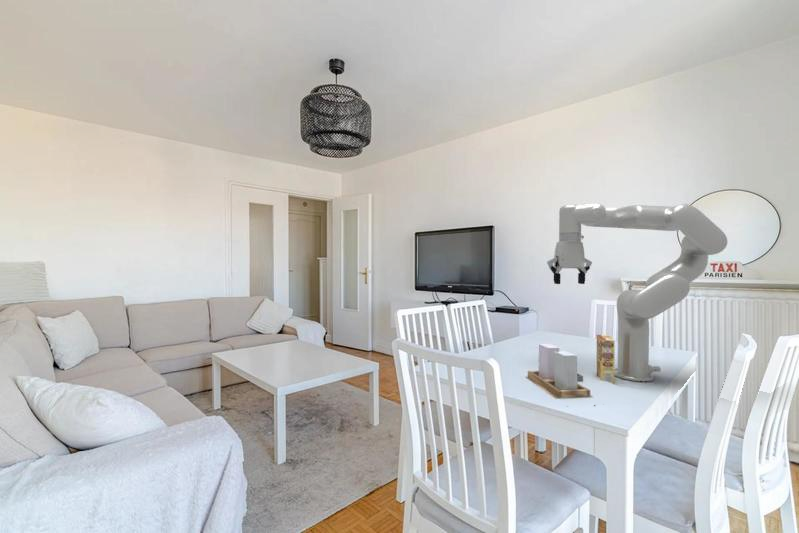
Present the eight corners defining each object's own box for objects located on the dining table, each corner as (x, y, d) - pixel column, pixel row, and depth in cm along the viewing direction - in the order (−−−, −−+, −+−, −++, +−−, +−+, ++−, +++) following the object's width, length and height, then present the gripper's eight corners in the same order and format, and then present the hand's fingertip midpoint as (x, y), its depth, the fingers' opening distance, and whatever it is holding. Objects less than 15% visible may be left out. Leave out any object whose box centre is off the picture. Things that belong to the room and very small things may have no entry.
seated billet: (549, 377, 127) (549, 343, 127) (558, 383, 121) (559, 347, 121) (538, 378, 127) (538, 343, 126) (547, 384, 121) (547, 348, 121)
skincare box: (578, 394, 111) (578, 355, 111) (565, 395, 111) (565, 355, 110) (565, 387, 118) (566, 350, 117) (553, 388, 117) (553, 350, 116)
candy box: (614, 385, 124) (615, 340, 123) (600, 383, 125) (601, 339, 125) (608, 377, 132) (609, 335, 132) (595, 376, 133) (596, 334, 133)
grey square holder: (574, 379, 129) (574, 371, 129) (582, 384, 124) (583, 376, 124) (560, 380, 128) (560, 371, 128) (569, 385, 123) (569, 376, 123)
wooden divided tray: (557, 379, 130) (557, 370, 130) (593, 400, 110) (593, 390, 110) (524, 380, 128) (525, 371, 128) (555, 402, 108) (555, 391, 108)
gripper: (585, 239, 142) (584, 283, 143) (543, 238, 140) (542, 283, 141) (597, 238, 135) (597, 284, 135) (553, 237, 133) (552, 284, 133)
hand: (569, 283), depth 138 cm, fingers open, 9 cm apart
